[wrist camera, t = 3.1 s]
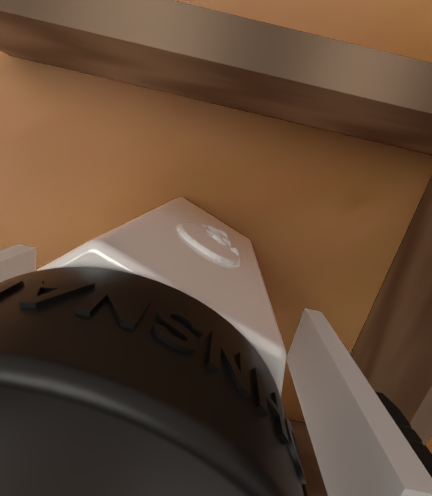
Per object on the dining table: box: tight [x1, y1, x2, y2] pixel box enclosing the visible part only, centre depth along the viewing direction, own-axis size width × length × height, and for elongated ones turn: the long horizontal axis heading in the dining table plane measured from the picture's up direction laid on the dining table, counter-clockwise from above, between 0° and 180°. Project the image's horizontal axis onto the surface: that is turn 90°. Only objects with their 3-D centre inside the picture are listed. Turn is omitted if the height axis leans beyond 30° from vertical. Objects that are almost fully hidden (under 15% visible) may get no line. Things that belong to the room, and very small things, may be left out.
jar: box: [0, 197, 308, 496], centre depth 9 cm, size 9×8×12 cm
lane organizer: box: [0, 0, 432, 496], centre depth 14 cm, size 22×32×5 cm
